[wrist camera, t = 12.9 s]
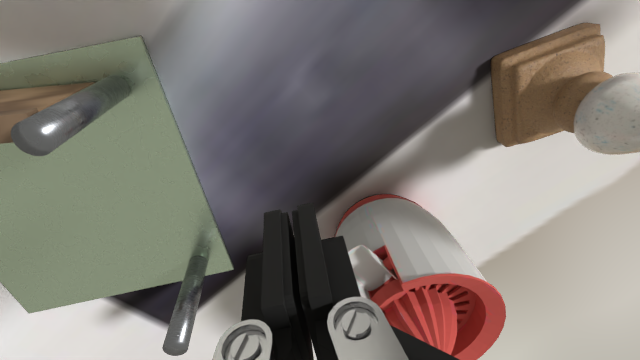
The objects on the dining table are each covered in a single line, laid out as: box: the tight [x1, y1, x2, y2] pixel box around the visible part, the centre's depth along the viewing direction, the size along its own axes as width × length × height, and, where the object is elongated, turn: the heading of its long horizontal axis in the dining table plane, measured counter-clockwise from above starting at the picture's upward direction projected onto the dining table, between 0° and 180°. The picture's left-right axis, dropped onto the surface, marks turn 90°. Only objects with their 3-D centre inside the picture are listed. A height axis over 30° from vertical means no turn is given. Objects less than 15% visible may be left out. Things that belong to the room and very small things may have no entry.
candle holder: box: [491, 23, 640, 155], centre depth 29 cm, size 11×11×24 cm
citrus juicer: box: [335, 194, 506, 360], centre depth 38 cm, size 16×17×20 cm
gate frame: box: [0, 36, 234, 356], centre depth 33 cm, size 30×28×14 cm
